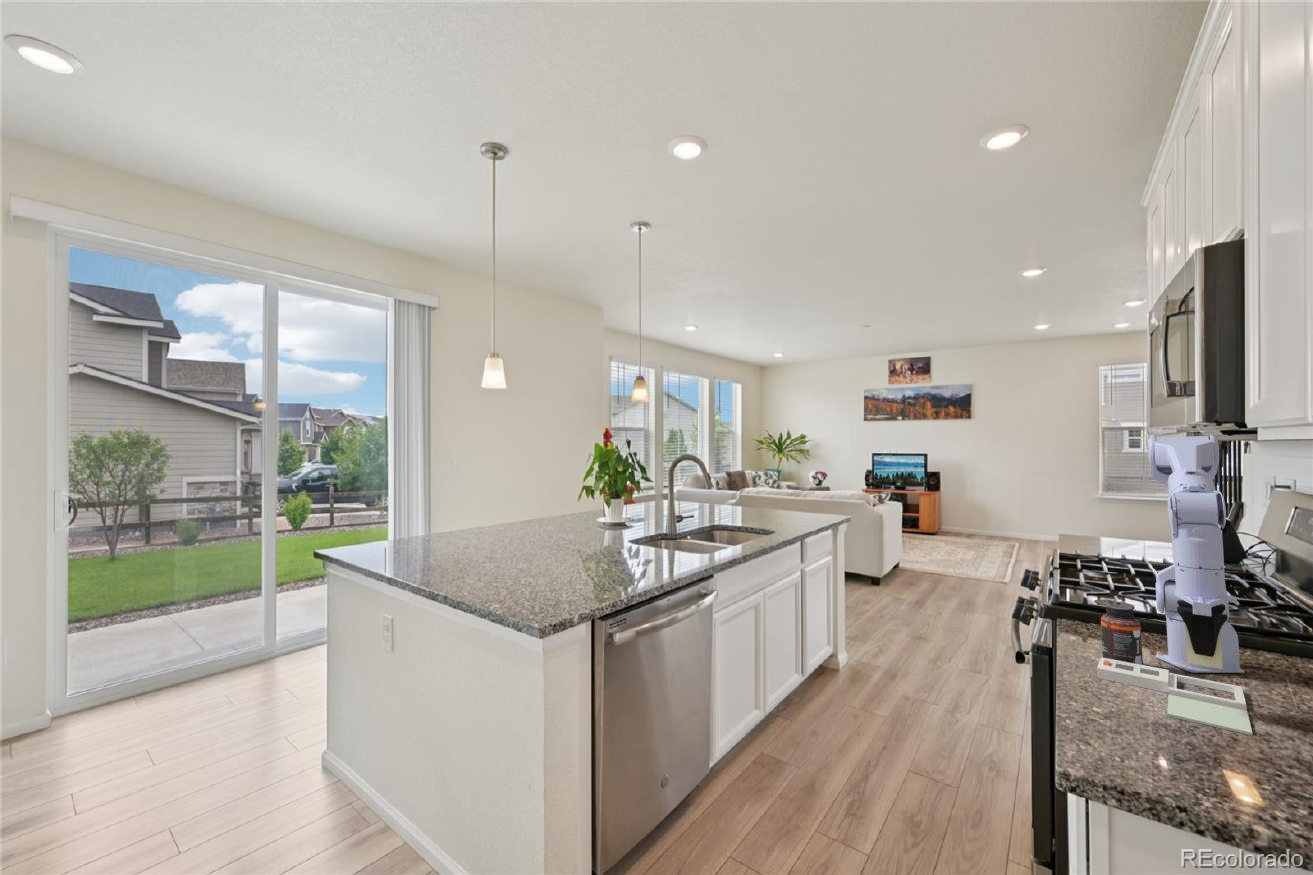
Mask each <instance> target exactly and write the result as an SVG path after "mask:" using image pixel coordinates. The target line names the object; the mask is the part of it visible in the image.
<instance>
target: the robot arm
mask: <svg viewBox="0 0 1313 875" xmlns="http://www.w3.org/2000/svg"><path fill="white" fill-rule="evenodd" d="M1219 447H1220V446H1219V439H1218V437H1216V436H1215V435H1213V434H1210V435H1203V436H1202V435H1201V436H1200V435H1199V436H1172V437H1171V436H1169V437H1167V436H1165V437H1162V436H1161V437H1155V436H1150V438H1149V439H1148V440H1147V452H1148V453H1147V454H1148V464H1149V472H1150V475H1151V476H1152V477H1151V478H1152V479H1154V480H1156V481H1159V482H1162V483H1163V484H1164V486H1165V488H1166V491H1167V493H1168V496H1167V515H1168V523H1169V524H1170V531H1171V532H1170V533H1171V544H1172V545H1171V546H1172V560H1173V562H1172V563H1173V564H1172V565H1170V566H1168V567H1166V568H1163V569H1161V570H1159V571H1158V572H1157V574H1156V575H1155V579H1156V582H1155V598H1156V609H1157V610H1158V611H1159V613H1160V614H1165V618H1166V634H1167V635H1166V638H1167V654H1155V657H1156V658H1157V659H1159V660H1162V661H1164V662H1166V663H1168V664H1171V665H1173V666H1175V667H1177V668H1179V669H1182V670H1183V671H1187V672H1189V673H1194V674H1197V673H1200V674H1205V673H1206V674H1208V673H1209V674H1210V673H1211V674H1215V673H1216V674H1217V673H1219V674H1221V673H1222V674H1226V673H1227V674H1229V673H1230V674H1231V673H1232V674H1236V673H1237V674H1244V673H1245V670H1244V669H1242V668H1241V666H1240V663H1241V662H1240V648H1239V647H1240V646H1239V637H1238V634H1237V632H1236V630H1235V628H1234V627H1233V626H1232V624H1231V623H1229V622H1228V621H1227V620H1228V619H1229V616H1230V605H1229V603H1232V604H1233V603H1234V604H1235V603H1237V602H1238V601H1237V600H1238V599H1237V597H1236V596H1235V595H1228V591H1227V586H1226V578H1225V576H1226V575H1225V562H1224V561H1225V560H1224V559H1225V558H1224V542H1223V530H1222V529H1224V528H1225V526H1226V522H1227V509H1226V502H1225V499H1224V496H1223V493H1222V492H1221V491H1219V490H1216V487H1215V483H1214V480H1215V478H1216V475H1217V474H1218V468H1219V467H1218V466H1219V465H1220V464H1219V463H1220V449H1219ZM1219 526H1221V528H1222V529H1221V528H1220V527H1219ZM1174 581H1175V582H1174ZM1185 625H1186V627H1187V630H1188V633H1189V636H1190V640H1191V644H1192V647H1193V650H1194V652H1195V654H1198V655H1204V656H1210V657H1213V656H1214V654H1215V650H1216V645H1217V639H1218V635H1219V632H1220V630H1221V646H1222V664H1223V669H1218V668H1213V667H1207V666H1202V665H1196V664H1190V663H1187V653H1186V635H1185Z"/></svg>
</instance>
